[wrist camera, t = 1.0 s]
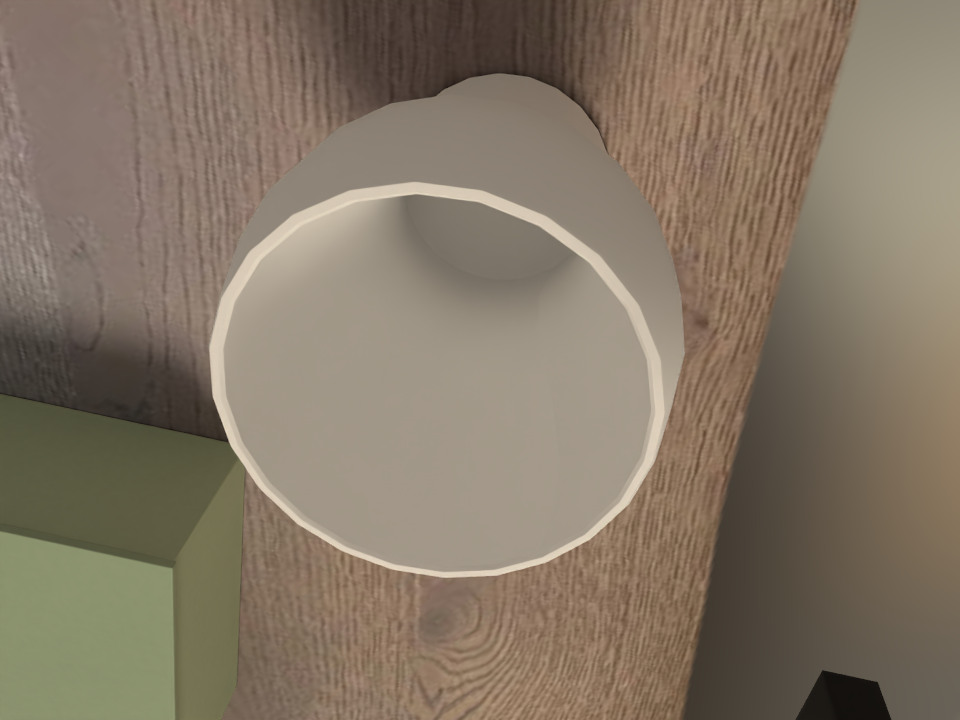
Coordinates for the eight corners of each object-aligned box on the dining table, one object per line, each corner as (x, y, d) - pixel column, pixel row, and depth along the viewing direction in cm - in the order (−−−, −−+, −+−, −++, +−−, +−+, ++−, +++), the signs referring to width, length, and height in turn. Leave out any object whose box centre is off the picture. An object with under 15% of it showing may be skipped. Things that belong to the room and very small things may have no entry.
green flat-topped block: (-107, 366, 38) (-265, 473, 31) (251, 442, 37) (172, 568, 31) (-54, 623, 46) (-170, 753, 39) (240, 687, 46) (176, 831, 39)
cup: (615, -16, 27) (632, 73, 14) (679, 283, 31) (737, 562, 18) (313, 79, 29) (87, 229, 16) (413, 342, 34) (298, 624, 21)
